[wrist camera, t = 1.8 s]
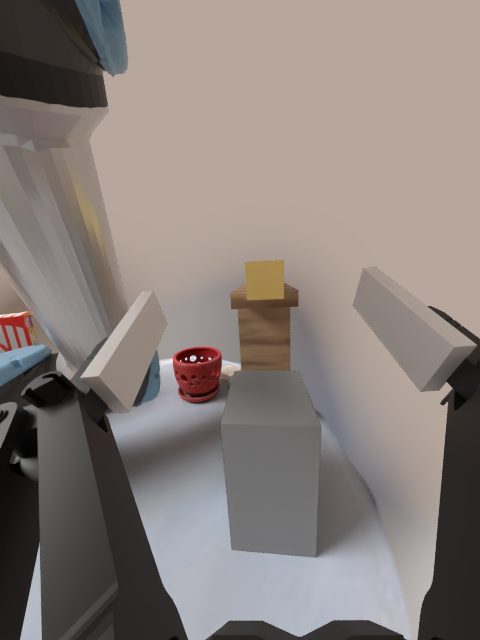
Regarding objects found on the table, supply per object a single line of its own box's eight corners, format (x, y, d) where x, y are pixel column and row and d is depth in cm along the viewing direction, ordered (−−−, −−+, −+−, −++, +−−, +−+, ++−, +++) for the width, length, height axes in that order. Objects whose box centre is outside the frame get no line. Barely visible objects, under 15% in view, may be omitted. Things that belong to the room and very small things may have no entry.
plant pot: (195, 414, 50) (190, 369, 47) (169, 394, 59) (163, 355, 56) (233, 390, 59) (230, 351, 56) (205, 376, 68) (202, 342, 65)
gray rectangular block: (315, 557, 24) (321, 426, 20) (231, 549, 25) (220, 424, 21) (298, 466, 35) (299, 370, 31) (240, 464, 36) (234, 371, 32)
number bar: (283, 298, 22) (283, 259, 21) (246, 300, 22) (244, 262, 21) (272, 285, 43) (271, 265, 42) (253, 285, 44) (252, 266, 43)
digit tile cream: (217, 378, 67) (216, 371, 67) (228, 370, 72) (228, 364, 71) (231, 383, 64) (230, 376, 63) (242, 374, 68) (242, 368, 68)
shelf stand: (296, 458, 37) (298, 290, 30) (241, 456, 38) (230, 293, 31) (285, 400, 53) (284, 283, 46) (247, 400, 54) (240, 285, 47)
